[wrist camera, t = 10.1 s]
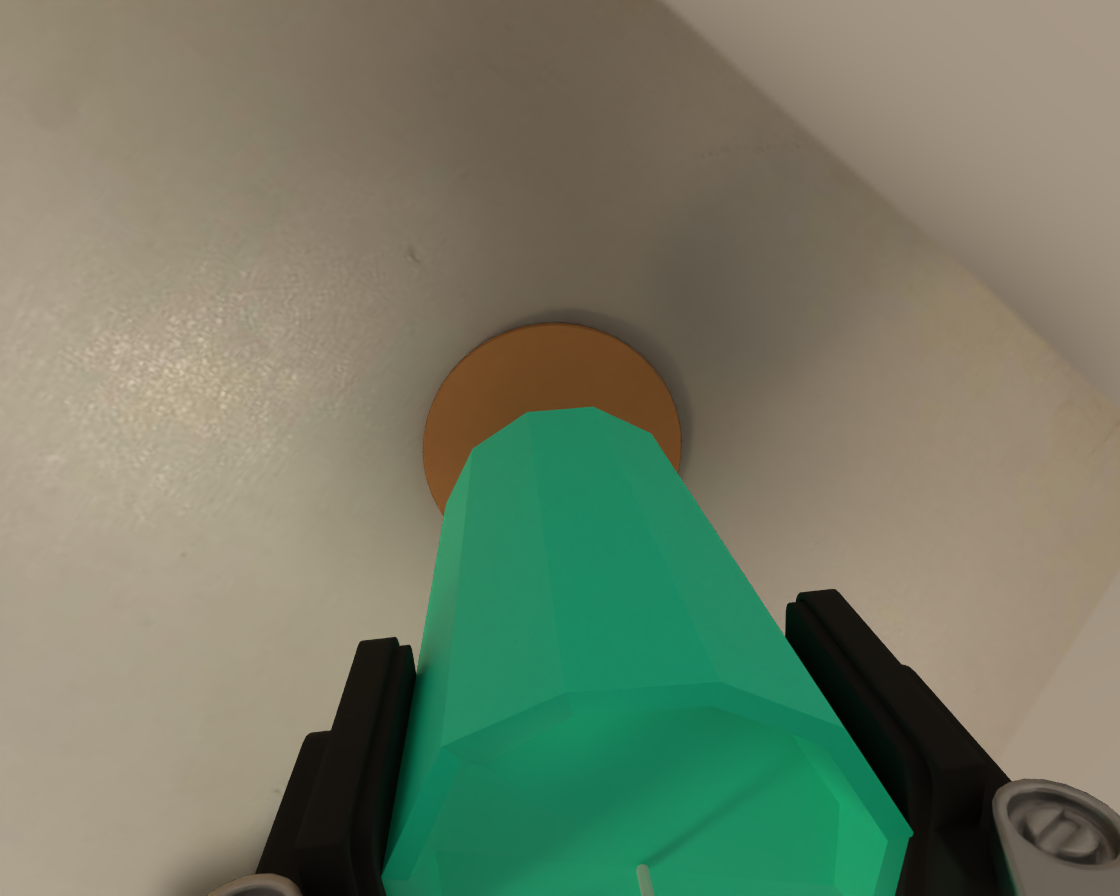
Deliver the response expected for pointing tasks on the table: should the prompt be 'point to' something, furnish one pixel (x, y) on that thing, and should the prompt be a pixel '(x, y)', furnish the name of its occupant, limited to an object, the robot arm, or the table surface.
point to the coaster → (541, 393)
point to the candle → (616, 698)
